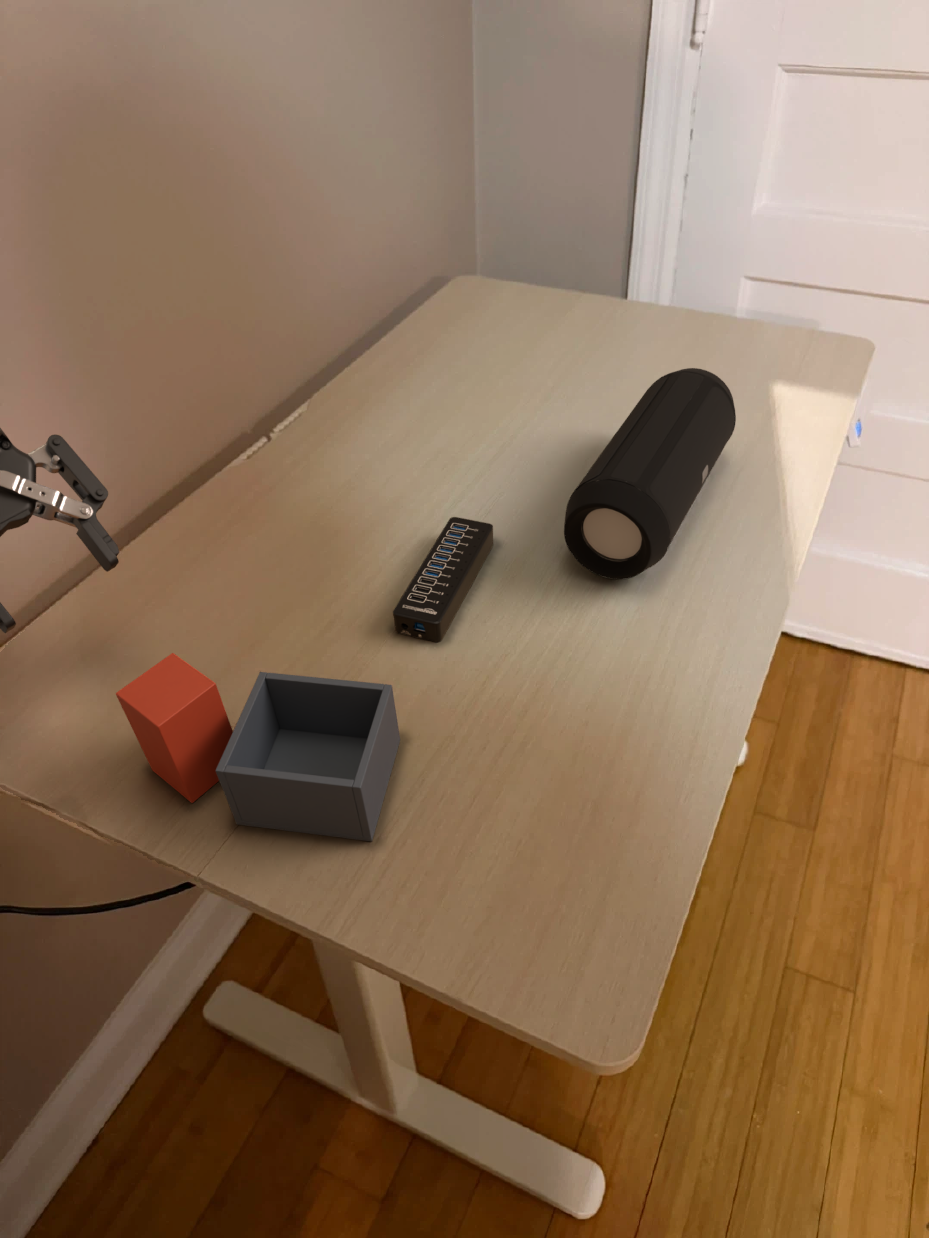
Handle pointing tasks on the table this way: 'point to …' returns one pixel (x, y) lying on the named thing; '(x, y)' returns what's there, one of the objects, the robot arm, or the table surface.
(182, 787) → the block
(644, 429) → the portable speaker
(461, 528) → the multiport hub
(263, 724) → the tub
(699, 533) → the table surface
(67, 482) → the robot arm
